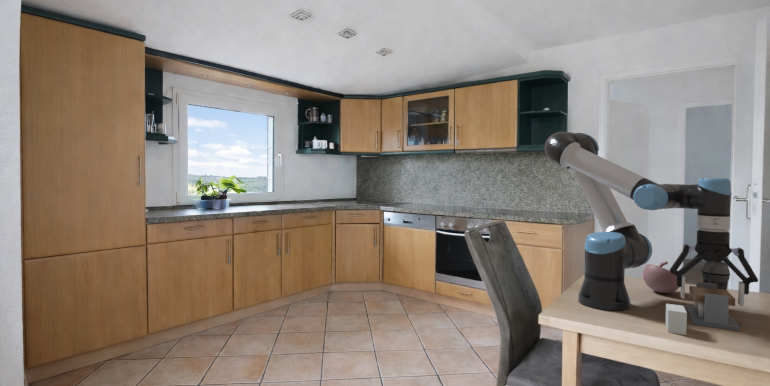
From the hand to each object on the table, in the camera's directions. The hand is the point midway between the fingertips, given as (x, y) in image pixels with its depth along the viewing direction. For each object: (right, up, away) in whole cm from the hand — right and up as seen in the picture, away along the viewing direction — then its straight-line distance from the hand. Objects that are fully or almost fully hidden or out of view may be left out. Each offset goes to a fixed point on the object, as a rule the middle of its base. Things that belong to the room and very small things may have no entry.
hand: (710, 301), depth 119 cm
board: (0, +1, 0) cm, 1 cm away
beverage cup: (+9, -5, +10) cm, 14 cm away
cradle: (0, -5, 0) cm, 5 cm away
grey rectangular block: (-17, -6, -9) cm, 20 cm away
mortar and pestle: (+5, -5, +28) cm, 28 cm away
